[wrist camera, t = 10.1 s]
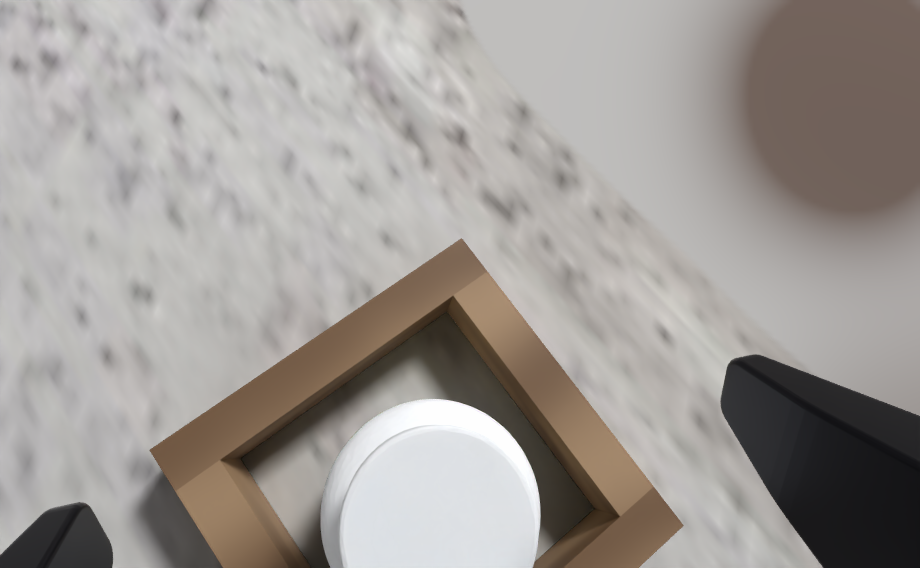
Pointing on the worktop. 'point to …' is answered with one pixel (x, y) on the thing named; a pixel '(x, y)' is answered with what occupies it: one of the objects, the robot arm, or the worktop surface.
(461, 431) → the supplement bottle
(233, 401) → the brown wooden frame
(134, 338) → the worktop surface
